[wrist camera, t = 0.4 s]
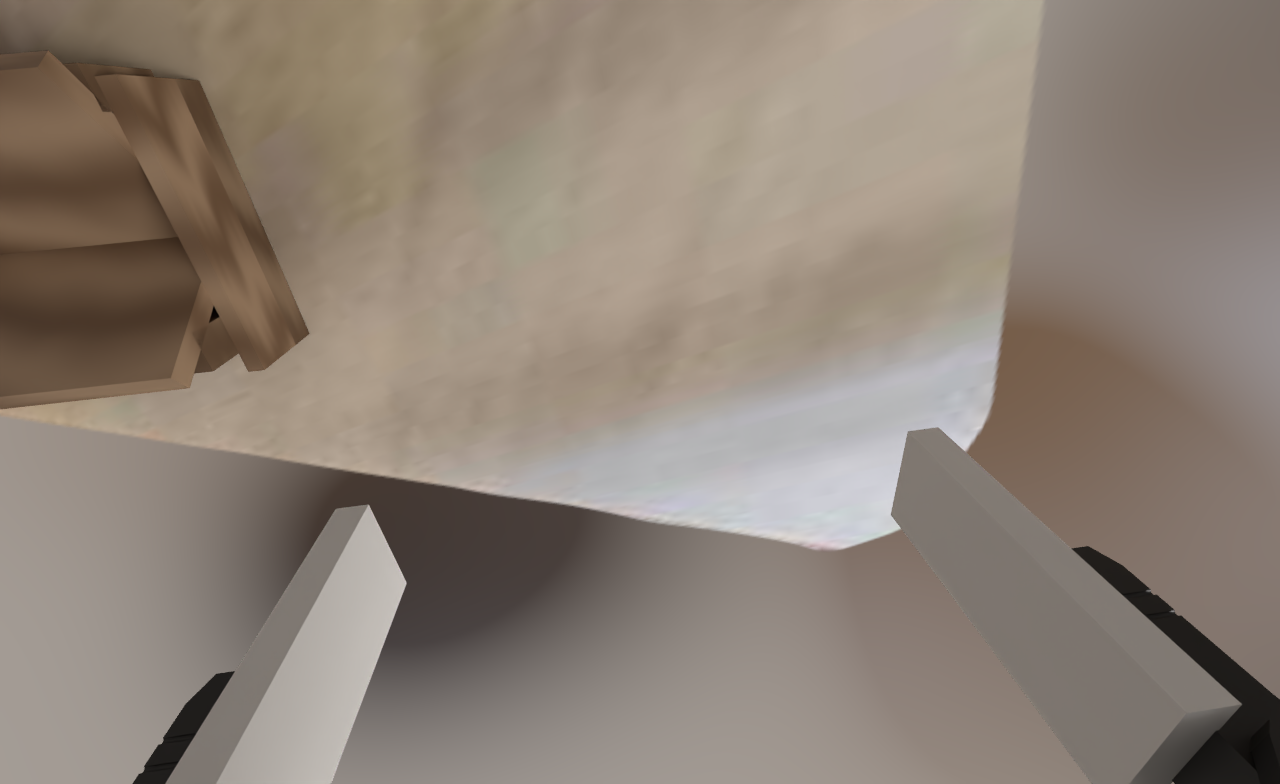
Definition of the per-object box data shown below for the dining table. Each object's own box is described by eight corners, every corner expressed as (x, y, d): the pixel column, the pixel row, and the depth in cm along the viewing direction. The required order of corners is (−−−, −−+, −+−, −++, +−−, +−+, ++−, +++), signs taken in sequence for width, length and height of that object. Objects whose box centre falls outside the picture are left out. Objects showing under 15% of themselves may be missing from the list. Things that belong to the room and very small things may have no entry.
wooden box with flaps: (-83, 86, 28) (-432, 73, 19) (191, 62, 29) (-8, 38, 19) (99, 356, 37) (-77, 445, 27) (309, 333, 37) (212, 412, 28)
